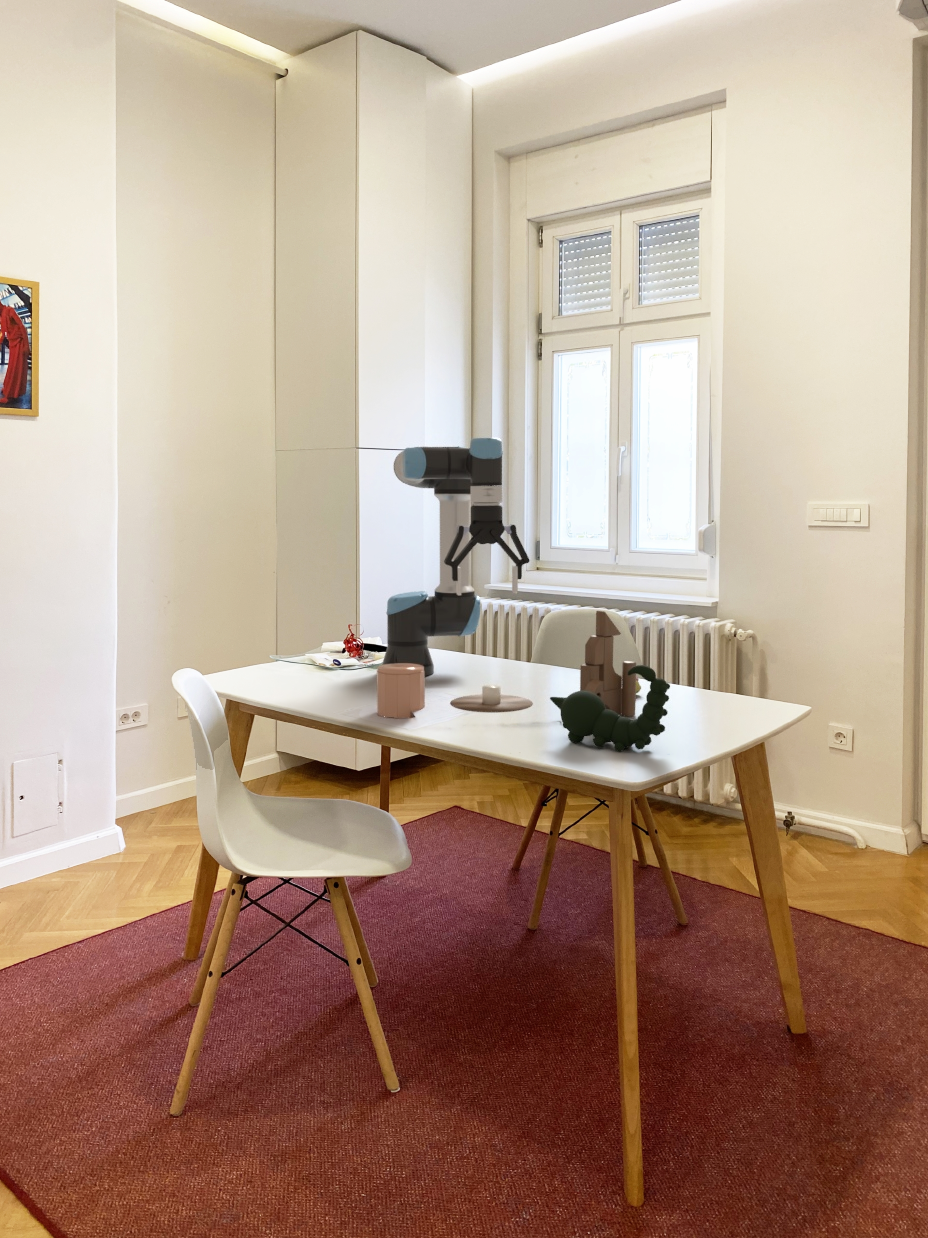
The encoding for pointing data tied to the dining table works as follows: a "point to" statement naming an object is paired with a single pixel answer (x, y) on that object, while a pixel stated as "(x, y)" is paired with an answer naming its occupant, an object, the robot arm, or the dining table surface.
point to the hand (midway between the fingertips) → (487, 594)
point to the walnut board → (476, 705)
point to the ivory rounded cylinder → (491, 694)
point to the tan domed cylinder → (400, 689)
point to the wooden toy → (607, 670)
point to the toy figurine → (614, 715)
